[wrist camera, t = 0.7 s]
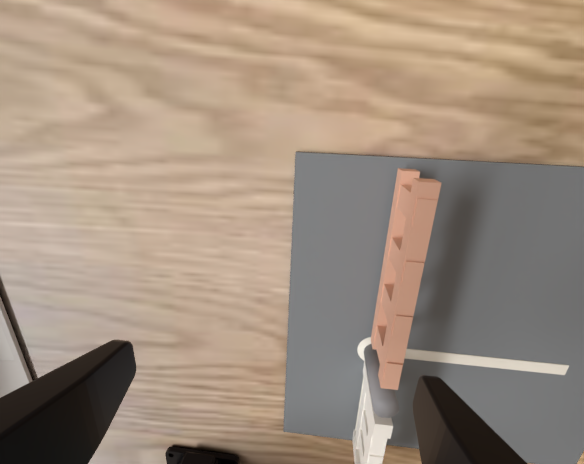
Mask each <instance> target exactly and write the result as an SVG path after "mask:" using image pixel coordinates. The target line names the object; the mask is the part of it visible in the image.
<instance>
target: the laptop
mask: <svg viewBox="0 0 584 464" xmlns="http://www.w3.org/2000/svg"><path fill="white" fill-rule="evenodd" d="M30 382H32V378H31V375H30V373H29V370H28V368H27V365H26V362H25V360H24V357H23V354H22V352H21V349H20V347H19V344H18V341H17V339H16V336H15V333H14V331H13V328H12V326H11V323H10V320H9V318H8V315H7V312H6V310H5V307H4V305H3V302H2V299H1V297H0V398H1V397H2V396H4V395H6V394H8V393H10V392H12V391H14V390H16V389H18V388H20V387H22V386H24V385H26V384H28V383H30Z"/></svg>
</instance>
